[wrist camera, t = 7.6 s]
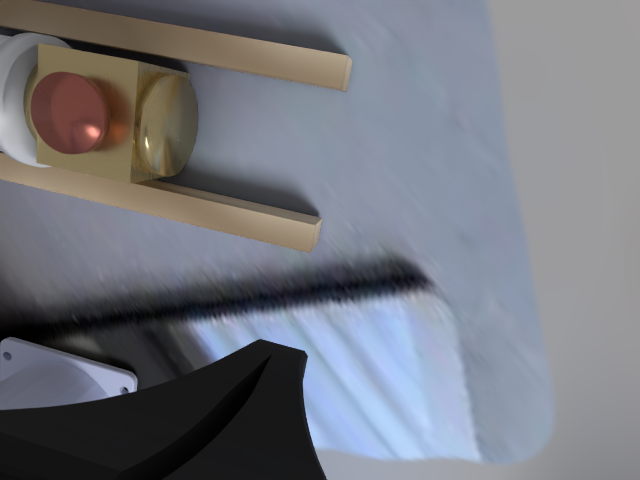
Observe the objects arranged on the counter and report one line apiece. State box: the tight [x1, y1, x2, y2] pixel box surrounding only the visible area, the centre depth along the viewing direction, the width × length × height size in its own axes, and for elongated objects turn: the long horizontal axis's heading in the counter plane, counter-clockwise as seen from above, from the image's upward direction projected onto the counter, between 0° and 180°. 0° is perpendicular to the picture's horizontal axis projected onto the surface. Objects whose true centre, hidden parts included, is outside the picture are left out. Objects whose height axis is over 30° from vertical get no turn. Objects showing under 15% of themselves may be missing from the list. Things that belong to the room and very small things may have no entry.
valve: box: [23, 43, 198, 184], centre depth 19 cm, size 5×4×5 cm
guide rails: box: [0, 0, 353, 253], centre depth 20 cm, size 8×17×2 cm, turn 80°
